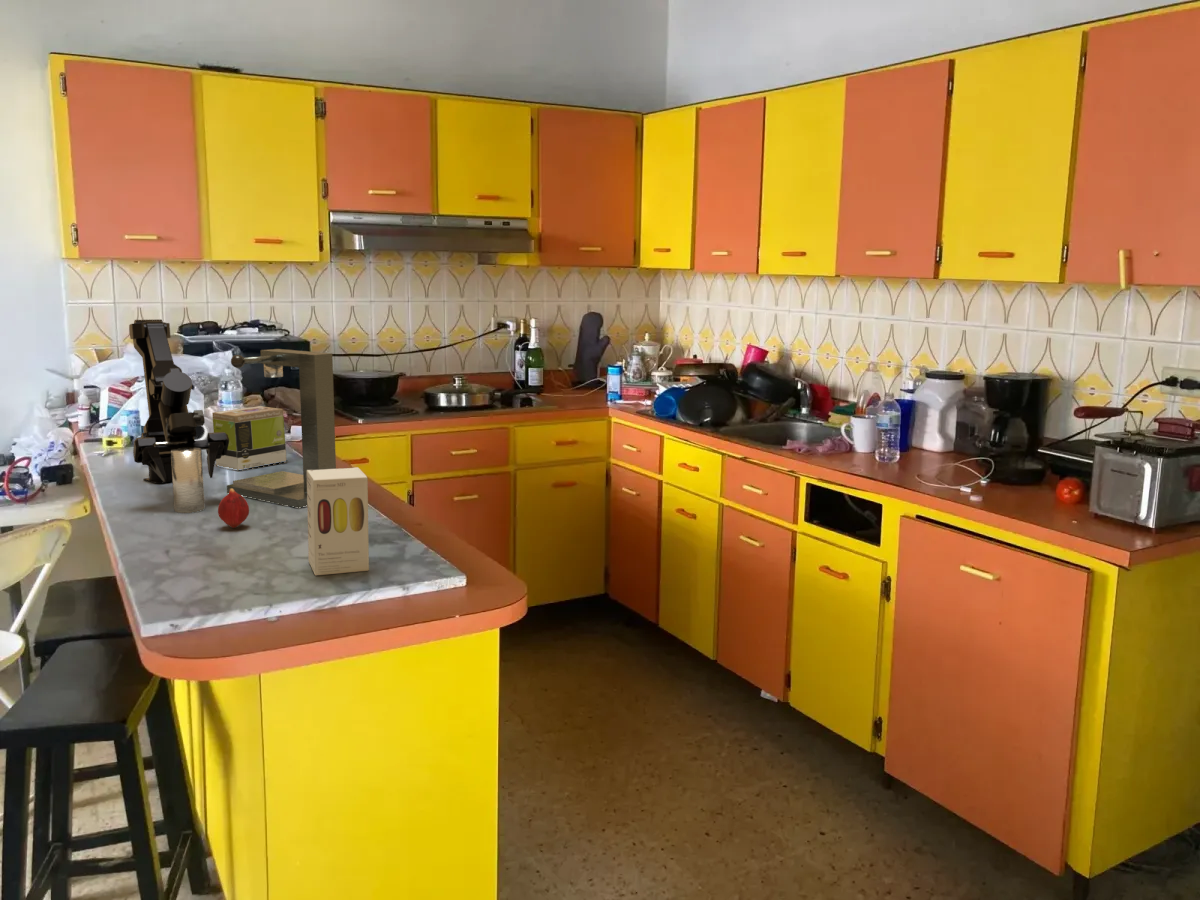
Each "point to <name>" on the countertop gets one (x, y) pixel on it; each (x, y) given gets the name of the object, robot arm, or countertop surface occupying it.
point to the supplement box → (337, 520)
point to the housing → (187, 479)
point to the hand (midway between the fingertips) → (188, 479)
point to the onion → (233, 509)
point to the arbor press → (313, 422)
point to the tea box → (251, 436)
